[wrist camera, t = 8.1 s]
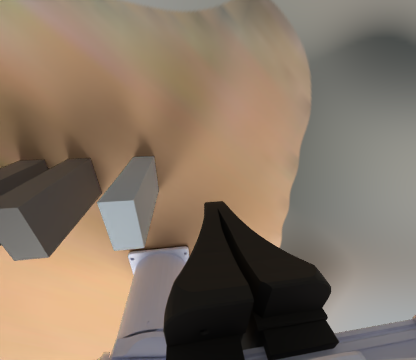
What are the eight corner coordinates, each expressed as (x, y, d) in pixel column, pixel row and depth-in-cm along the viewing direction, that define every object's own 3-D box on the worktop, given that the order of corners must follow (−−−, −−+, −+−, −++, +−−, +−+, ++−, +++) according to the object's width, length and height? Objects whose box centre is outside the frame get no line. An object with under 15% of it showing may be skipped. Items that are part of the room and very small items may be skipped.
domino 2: (90, 158, 16) (17, 207, 9) (101, 193, 18) (48, 257, 11) (67, 159, 16) (-27, 210, 9) (81, 194, 18) (12, 260, 11)
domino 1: (44, 159, 16) (-71, 213, 8) (61, 195, 17) (-22, 264, 10) (19, 160, 15) (-121, 216, 8) (39, 196, 17) (-63, 268, 10)
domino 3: (154, 156, 17) (133, 200, 10) (158, 190, 19) (144, 247, 12) (132, 156, 16) (95, 202, 9) (139, 191, 18) (113, 250, 11)
